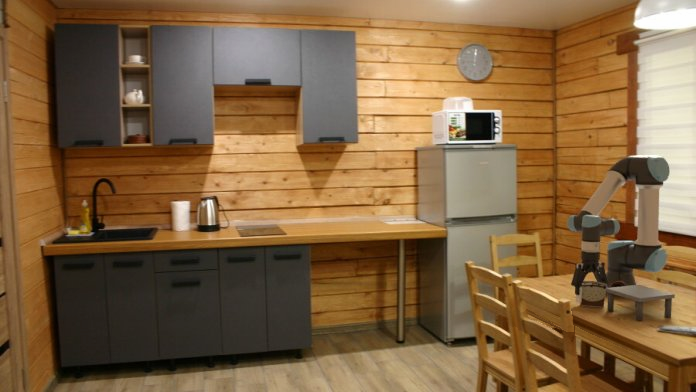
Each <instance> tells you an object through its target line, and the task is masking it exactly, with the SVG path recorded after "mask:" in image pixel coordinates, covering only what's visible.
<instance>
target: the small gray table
mask: <svg viewBox="0 0 696 392" xmlns="http://www.w3.org/2000/svg"><path fill="white" fill-rule="evenodd" d="M605 292H606V293H607V310H606V311H607V312H610V313H611V312H614V311H615V310H614V309H615V296H619V297H622V298H625V299H628V300H632V301H635V302H634V307H635V321H636V322H643V316H644V314H643V312H644V303H645V302H652V301H658V300H659V301H660V300H664V318H670V319H671V318H672V309H673V308H672V305H673V299H675V298H676V297H675V293H671V292H667V291H664V290H659V289H657V288H653V287H648V286H645V285H641V284H637V285H631V286H622V287H612V288H606V291H605ZM614 294H615V295H614Z"/></svg>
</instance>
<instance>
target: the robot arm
mask: <svg viewBox="0 0 696 392" xmlns="http://www.w3.org/2000/svg"><path fill="white" fill-rule="evenodd" d="M669 176H670V165H669V162H668V161H667V160H666V159H665V158H664V157H663V156H659V155H629V156H624V157H623V158H621V159H619V160H618V161H616V162H615V163H614V164H613V165H612V166H611V167H610V168H609V169H608V170H607V171H606V174H605V178H604V180H603V181H602V182H601V184H600V185H599V186H598V187H597V189H595V191H594V192H593V194H591V195H592V196H591V197H590V198H589V199H588V200H587V201H586V203H585V205H584V206H583V207H582V208H581V210H580V211H579V213H578V214H573V215H570V216H569V217H568V219H567V222H566V223H567V228H568V229H569V231H571V232H576V233H581V247H580V249H581V251H580V259H581V263H575V267H574V268H575V269H574V273H573V276H572V280H571V282H570V285H571V286H572V287H574V294H575V302H576V303H578V304H579V303H582V288H581V285H582V283H583V281H585V279H586V277H587V276H588V274H589V273H592V274H593V276H594V279H595V281H596V282H602V283H605V284H607V286H608V288H609V286H610V284H612V283H613V282H616V281H623V282H625V284H627V285H628V286H631V285H638V284H637V282H636V278H635V275H634V270H637V271H643V272H646V273H658V272H661V271H662V270H663V269H664V267H665V265H666V264H667V259H668V253H667V251H666V249H665V248H663V247H662V242H661V241H660V240H659V224H660V223H659V222H660V221H659V220H660V219H659V217H660V216H659V215H660V188H662V187H663V186H664V182H665V181H667V180H668V179H669ZM629 181H634V185H635V186H636V187H637V188H638V200H637V203H638V205H637V239H636V240H614V241H610V242H608V244H607V251H606V252H607V256H606V257H607V259H606V262H607V263H605V262H603V261H600V260H601V259H600V258H601V253H600V250H601V237H606V236H608V237H609V236H610V237H611V236H614V235H616V234H618V233H619V231H620V229H621V225H620V224H621V223H619V221H618V219H616V218H613V217H607V218H603V217H601V216H600V214H601V213H602V211H603V210H604V209H605V207H606V206H607V204H608V203H609V202H610V200H611V199H612V198H613V196H614V195H615V194H616V193H617V191H618V190H619V188H620V187H623V186H625V184H626V183H627V182H629ZM605 264H606V266H607V267H605ZM605 268H606V269H605ZM621 286H622V285H621ZM613 287H614V286H613Z"/></svg>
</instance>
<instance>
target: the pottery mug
mask: <svg viewBox="0 0 696 392" xmlns="http://www.w3.org/2000/svg"><path fill="white" fill-rule="evenodd" d="M621 285H622V286H628V285H627V284H625V282H623V281H616V282H613V283H612V284H610V286H609V288H612V287H613V286H614V287H622V286H621ZM614 296H616V295H615V294H614Z"/></svg>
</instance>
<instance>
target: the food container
mask: <svg viewBox="0 0 696 392" xmlns="http://www.w3.org/2000/svg"><path fill="white" fill-rule="evenodd" d="M581 288H582V303H580V306H582V307H592V308H593V307H594V308H604V307H605V302H606V295H607V292H605V291H606V288H608V286H607V284H605V283H602V282H597V280H584V281H583V283H582V285H581Z"/></svg>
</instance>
